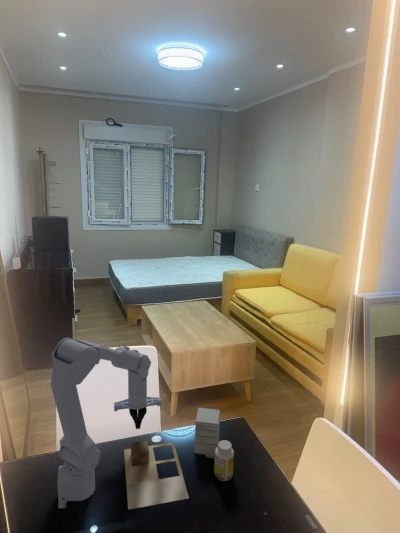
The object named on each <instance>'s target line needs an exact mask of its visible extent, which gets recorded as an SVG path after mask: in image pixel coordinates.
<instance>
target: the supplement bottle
mask: <svg viewBox="0 0 400 533" xmlns="http://www.w3.org/2000/svg"><path fill="white" fill-rule="evenodd" d="M234 456H235V450H234V449H233V446H232V443H231V442H230V441H229V440H225V439H224V440H222V439H221V440H219V443H218V447H217V448H216V449H215V458H214V467H213V475H214V477H215V478H216V479H217V480H219V481H222V482H227V481H230V480H231V479H232V478H233V474H234V461H235V460H234V458H235V457H234Z"/></svg>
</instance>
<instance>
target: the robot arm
mask: <svg viewBox="0 0 400 533" xmlns="http://www.w3.org/2000/svg"><path fill="white" fill-rule="evenodd" d="M51 359H52V364H53V366H52V372H51V379H50V380H51V381H50V386H51V388H50V389H51V391H52V396H53V398H54V403H55V407H56V409H57V415H58V417H59V422H60V425H61V429H62V434H63V436H62V437H61V438H60V440H59V441H58V442H59V452H58V455H59V458H60V459H61V460H64V463H63V464H62V465H60V466H58V471H57V495H58V496H57V499H58V501H57V502H58V505H57V506H58V509H60V510H61V509H66V507H67V502H82V501H85V500H87V499H88V498H90V497H91V496H92V495H93V494H94V492H95V491H96V477H95V476H96V475H95V474H96V473H95V468H96V467H97V466H98V464H99V463H100V458H101V450H100V449H99V448H98V447H97V446H96V442H95V441H94V440H93V439H92V437H91V436H90V435H89V433H88V431H87V426H86V421H85V417H84V413H83V410H82V406H81V402H80V396H79V392H78V388H77V385H78V386H79V385H81V384H82V382H84V380H85V379H86V377H88V375H89V374H90V373H91V371H93V369H94V367H95V366H96V365H99V363H100V361H101V360H103V361H109V362H110V363H111V365H112V366H113V367H115V368H118V369H122V370H127V382H128V383H127V386H128V387H127V390H128V391H127V393H128V396H127V397H128V398H126V399H123V400H119V401H115V402H113V411H114V412H118V411H119V410H125V409H127V410H128V409H129V410H128V411H129V415H130V417H131V418H132V420H133V423H134V426H135V427H134V428H135V430H140V429H141V425H142V422H143V419H144V418H145V416H146V414H147V411H148V410H147V407H152V406H157V407H160V406H162V399H161V397H159V396H157V397H156V396H148V392H147V391H148V390H147V389H148V386H147V384H148V379H147V378H148V376H149V371H150V368H151V364H152V361H151V360H150V358H149V356H148V355H147V354H143V353H141V352H139V350H137V349H131V348H130V347H128V346H126V345H123V346H119V347H117V348H115V349H113V348H110V347H106V346H104V345H101V344H99V343H95V342H93V341H89V340H88V341H87V340H85V339H75V340H74V338H71V337H64V338H63V339H61V340H60V341H59V342H58V343H57V345H56V346H55V348H53V351H52V353H51Z"/></svg>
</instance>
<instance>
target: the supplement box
mask: <svg viewBox="0 0 400 533" xmlns="http://www.w3.org/2000/svg"><path fill="white" fill-rule="evenodd" d="M220 419H221V409H213V408H205V407H204V408H203V407H198V408H197V413H196V417H195V426H194V427H195V429H194V454H200V455H204V456H205V458H208V459H215V449H216V448H217V447H218V443H219V442H220V422H221V421H220Z"/></svg>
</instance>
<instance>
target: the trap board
mask: <svg viewBox="0 0 400 533" xmlns="http://www.w3.org/2000/svg"><path fill="white" fill-rule="evenodd" d="M175 444H176V443H175V442H174V441H173V442H167V443H160V444H153V445H152V444H151V445H148V449H149V464H144V465H137V466H132V461H131V448H125V449H123V454H124V455H123V456H124V469H125V470H124V471H125V482H126V484H125V485H126V496H127V509H128V511H130V510H134V509H139V508H144V507H150V506H151V507H152V506H154V505H155V506H157V505H161V504H165V503H166V504H167V503H172V502H177V501H182V500H188V499H190V497H189V494H188V490H187V489H188V488H187V487H186V486H187V485H186V482H185V478H184V475H183V470H182V467H181V463H180V460H179V457H178V452H177V448H176V446H175ZM168 446H171V450H172V453H173V455H174V456H173V457H174V458H170V459H168V458H167V459H163V460H156V457H155V456H156V455H155V453H154V452H155V451H154V448H160V447H168ZM170 462H175V464H176V468H177V473H178V475H176V476H171V477H165V478H159V473H158V469H157V464H158V465H159V464H163V463H164V464H165V463H170Z"/></svg>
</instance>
